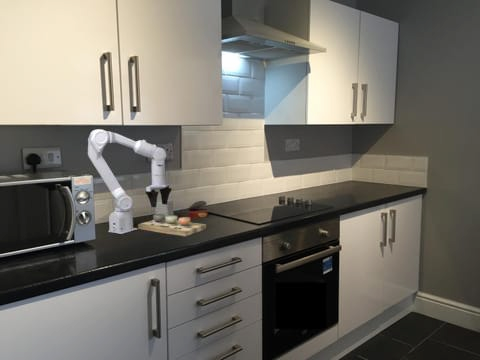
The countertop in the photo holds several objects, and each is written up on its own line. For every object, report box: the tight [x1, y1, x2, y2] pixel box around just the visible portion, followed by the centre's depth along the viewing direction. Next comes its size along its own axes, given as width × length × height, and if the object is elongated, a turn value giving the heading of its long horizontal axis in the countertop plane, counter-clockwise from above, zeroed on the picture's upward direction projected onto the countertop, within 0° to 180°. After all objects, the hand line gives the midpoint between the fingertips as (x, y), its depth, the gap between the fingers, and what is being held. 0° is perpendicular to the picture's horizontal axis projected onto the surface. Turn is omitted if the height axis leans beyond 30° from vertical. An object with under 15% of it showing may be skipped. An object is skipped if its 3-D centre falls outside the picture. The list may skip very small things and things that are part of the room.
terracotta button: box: [178, 216, 192, 224], centre depth 178 cm, size 5×5×2 cm
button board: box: [137, 219, 207, 237], centre depth 182 cm, size 14×26×2 cm, turn 59°
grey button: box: [152, 214, 165, 221], centre depth 186 cm, size 5×5×2 cm
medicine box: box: [154, 198, 174, 219], centre depth 205 cm, size 8×4×9 cm, turn 59°
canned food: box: [187, 200, 209, 219], centre depth 208 cm, size 11×10×10 cm
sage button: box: [166, 214, 179, 223], centre depth 182 cm, size 5×5×2 cm
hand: (159, 205), depth 186 cm, fingers open, 7 cm apart
